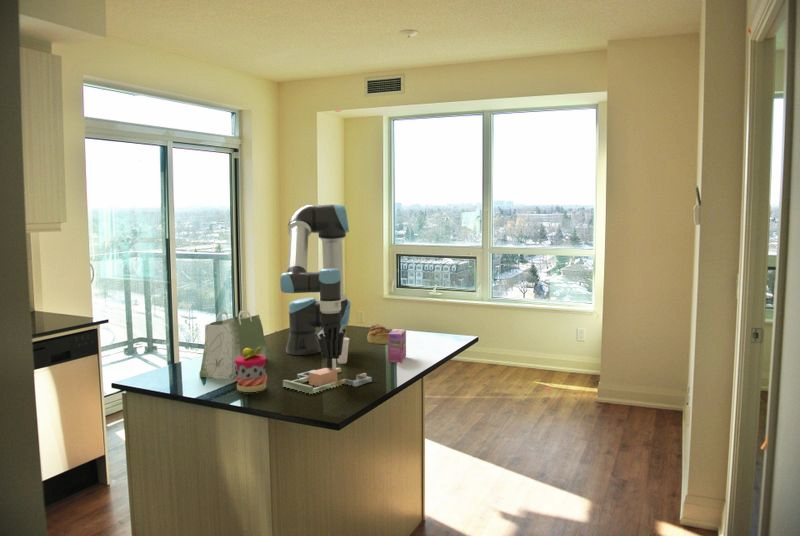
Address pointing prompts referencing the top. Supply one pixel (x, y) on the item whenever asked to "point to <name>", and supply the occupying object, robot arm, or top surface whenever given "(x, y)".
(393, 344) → the box
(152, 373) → the top surface
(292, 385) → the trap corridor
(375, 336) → the pastry
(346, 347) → the smoothie
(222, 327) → the grocery bag
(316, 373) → the block
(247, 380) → the cake
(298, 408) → the top surface
